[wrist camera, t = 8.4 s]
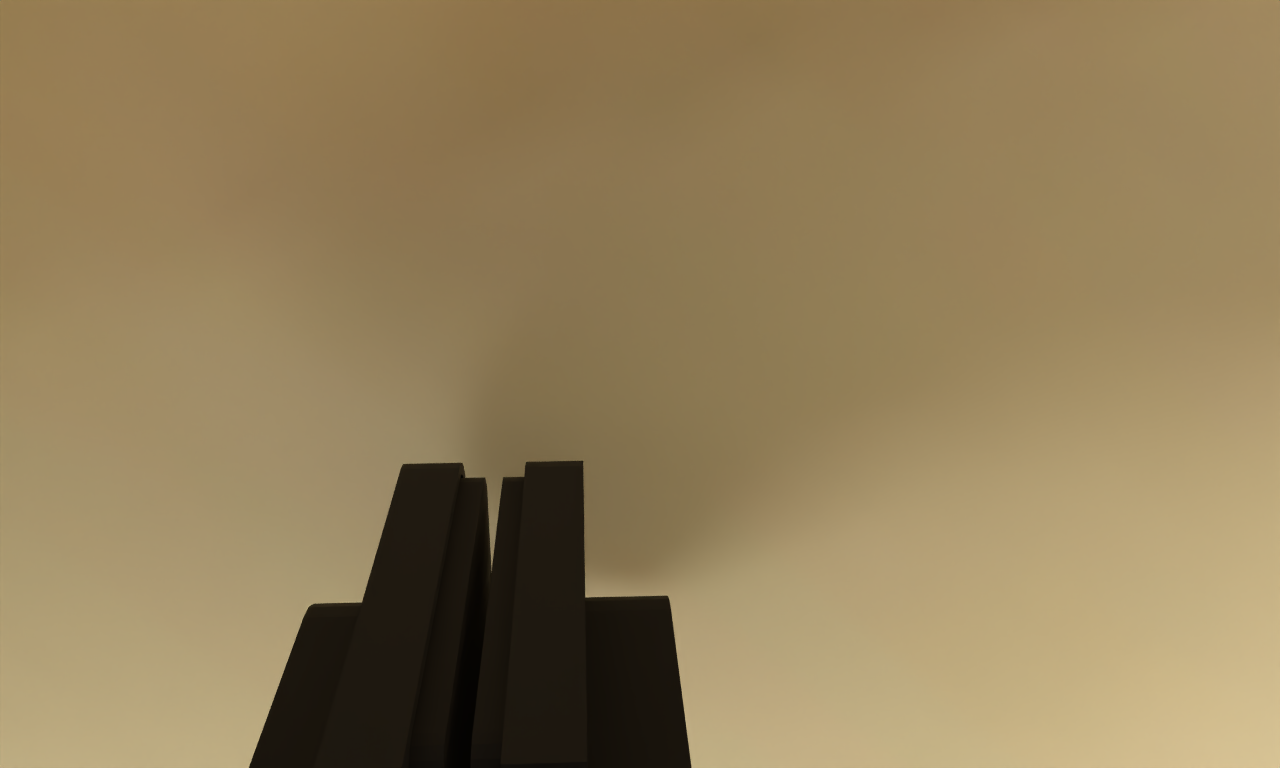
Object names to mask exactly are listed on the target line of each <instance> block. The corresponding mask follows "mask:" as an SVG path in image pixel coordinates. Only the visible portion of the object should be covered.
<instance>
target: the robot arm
mask: <svg viewBox="0 0 1280 768" xmlns="http://www.w3.org/2000/svg"><path fill="white" fill-rule="evenodd" d="M249 768H691V761H690V753H689V745H688V738H687V730H686V722H685V714H684V707H683V699H682V691H681V684H680V676H679V668H678V660H677V653H676V645H675V637H674V629H673V622H672V614H671V607H670V601H669V598H668V596H635V597H591V598H585V558H584V484H583V461H551V462H526V465H525V476H524V477H504V478H503V481H502V489H501V498H500V506H499V514H498V523H497V531H496V540H495V548H494V557H493V565H492V573H491V554H490V535H489V516H488V497H487V484H486V479H485V478H465V471H464V466H463V463H429V464H403V465H402V468H401V470H400V474H399V477H398V481H397V484H396V488H395V491H394V495H393V498H392V501H391V505H390V508H389V512H388V515H387V519H386V522H385V525H384V529H383V532H382V536H381V539H380V543H379V546H378V550H377V553H376V556H375V560H374V563H373V567H372V570H371V574H370V577H369V581H368V584H367V587H366V591H365V594H364V598H363V601H362V603H324V604H313V605H311V606H310V607H309V608H308V610H307V612H306V614H305V616H304V618H303V620H302V623H301V626H300V629H299V631H298V634H297V637H296V640H295V642H294V645H293V648H292V651H291V653H290V656H289V659H288V662H287V664H286V667H285V670H284V673H283V675H282V678H281V681H280V684H279V686H278V689H277V692H276V695H275V697H274V700H273V703H272V706H271V708H270V711H269V714H268V717H267V719H266V722H265V725H264V728H263V730H262V733H261V736H260V739H259V741H258V744H257V747H256V750H255V752H254V755H253V758H252V761H251V763H250V766H249Z"/></svg>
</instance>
